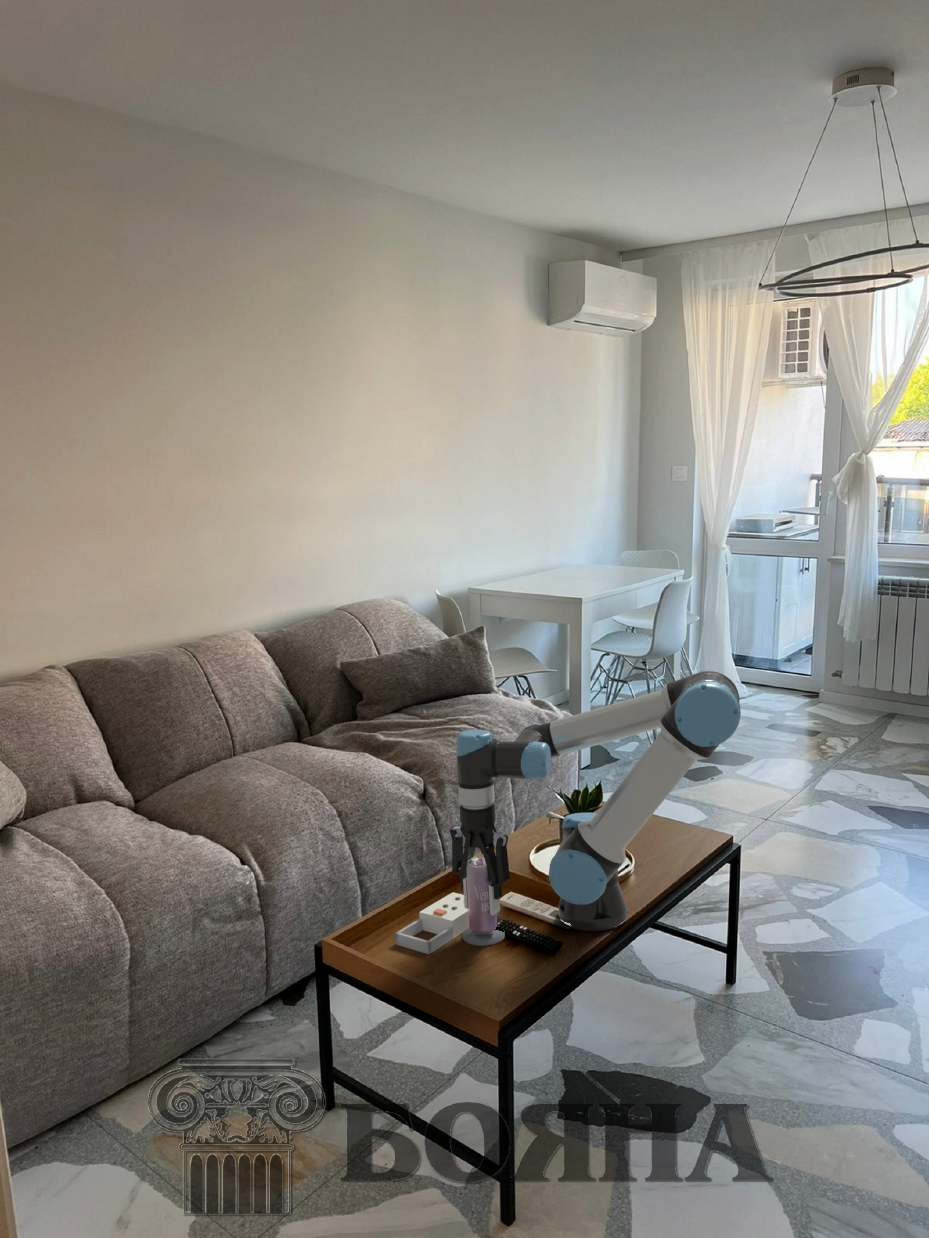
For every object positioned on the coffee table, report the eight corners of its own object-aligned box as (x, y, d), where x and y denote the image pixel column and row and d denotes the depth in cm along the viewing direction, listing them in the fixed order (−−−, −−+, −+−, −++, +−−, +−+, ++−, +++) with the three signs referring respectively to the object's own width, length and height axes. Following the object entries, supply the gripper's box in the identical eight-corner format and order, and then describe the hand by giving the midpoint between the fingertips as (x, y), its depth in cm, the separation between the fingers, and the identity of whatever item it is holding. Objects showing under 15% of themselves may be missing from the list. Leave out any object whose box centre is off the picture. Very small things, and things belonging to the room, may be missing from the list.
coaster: (512, 932, 202) (512, 930, 202) (488, 949, 195) (488, 946, 195) (478, 923, 207) (478, 921, 207) (454, 939, 200) (454, 937, 200)
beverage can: (496, 921, 204) (493, 855, 202) (498, 934, 198) (494, 865, 196) (468, 923, 204) (465, 856, 202) (469, 935, 198) (466, 867, 196)
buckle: (471, 898, 221) (470, 879, 221) (503, 905, 216) (502, 886, 215) (395, 944, 199) (394, 923, 199) (429, 954, 194) (427, 933, 194)
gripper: (524, 805, 195) (529, 912, 198) (451, 793, 206) (457, 894, 209) (504, 815, 189) (509, 925, 192) (430, 802, 200) (436, 906, 203)
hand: (482, 909), depth 200 cm, fingers closed on beverage can, 6 cm apart
